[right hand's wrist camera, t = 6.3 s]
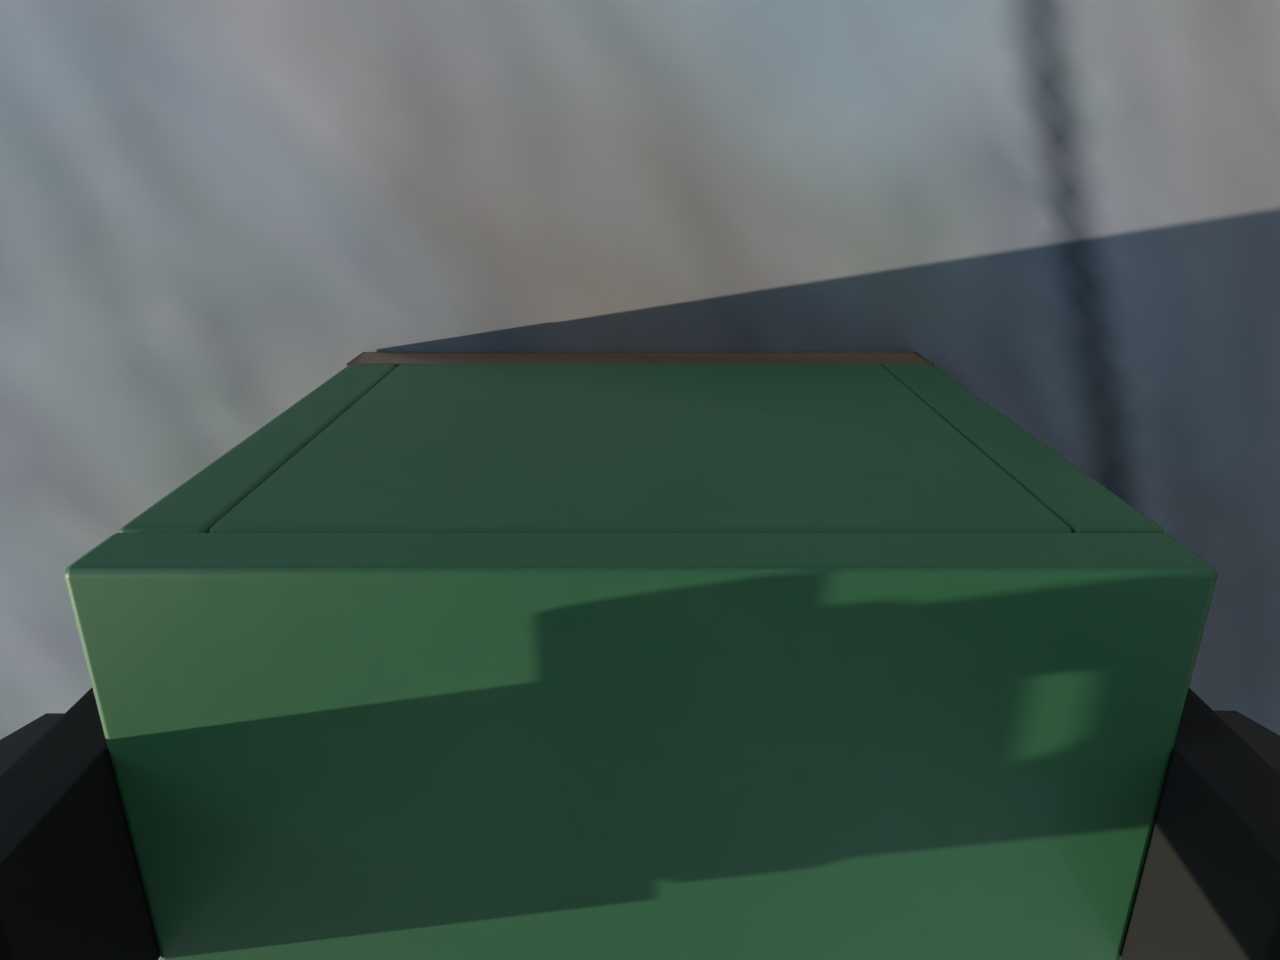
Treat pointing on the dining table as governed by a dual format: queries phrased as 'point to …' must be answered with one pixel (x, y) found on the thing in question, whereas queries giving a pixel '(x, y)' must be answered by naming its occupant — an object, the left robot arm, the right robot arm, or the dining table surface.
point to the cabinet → (640, 670)
